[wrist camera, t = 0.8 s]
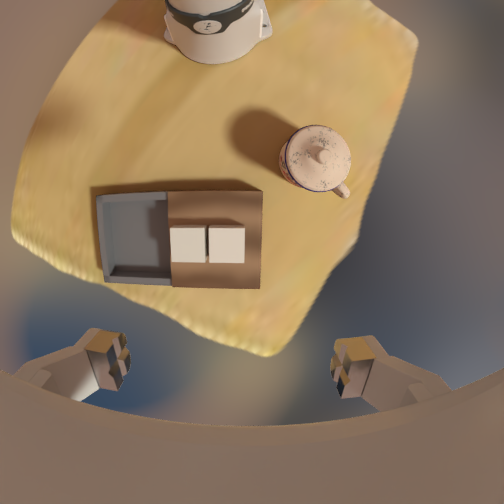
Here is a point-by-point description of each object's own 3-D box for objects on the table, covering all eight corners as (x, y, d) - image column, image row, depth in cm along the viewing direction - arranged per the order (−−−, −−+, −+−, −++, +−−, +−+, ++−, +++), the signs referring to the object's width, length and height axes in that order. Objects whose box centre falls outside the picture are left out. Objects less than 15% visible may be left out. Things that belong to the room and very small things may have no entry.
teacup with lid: (265, 161, 41) (272, 154, 30) (304, 123, 40) (323, 106, 28) (316, 213, 44) (340, 225, 32) (353, 176, 42) (386, 177, 31)
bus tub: (105, 194, 42) (96, 195, 38) (174, 190, 42) (168, 191, 39) (112, 275, 46) (104, 282, 42) (178, 278, 46) (173, 285, 43)
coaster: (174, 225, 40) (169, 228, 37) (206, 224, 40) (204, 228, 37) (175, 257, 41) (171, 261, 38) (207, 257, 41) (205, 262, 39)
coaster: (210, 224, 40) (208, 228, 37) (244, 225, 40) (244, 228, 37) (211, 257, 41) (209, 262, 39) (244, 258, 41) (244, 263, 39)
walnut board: (174, 190, 42) (167, 191, 38) (261, 190, 42) (262, 191, 39) (178, 278, 46) (172, 286, 42) (258, 279, 46) (259, 288, 43)
